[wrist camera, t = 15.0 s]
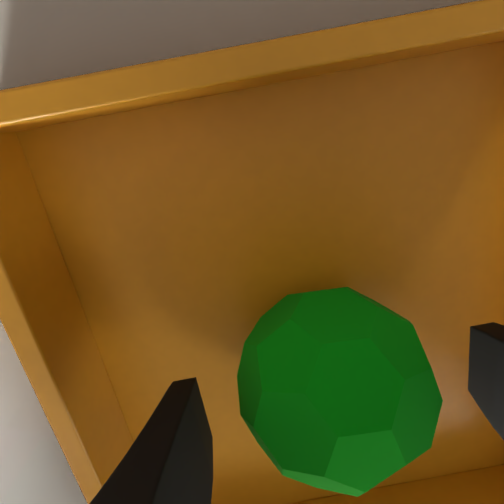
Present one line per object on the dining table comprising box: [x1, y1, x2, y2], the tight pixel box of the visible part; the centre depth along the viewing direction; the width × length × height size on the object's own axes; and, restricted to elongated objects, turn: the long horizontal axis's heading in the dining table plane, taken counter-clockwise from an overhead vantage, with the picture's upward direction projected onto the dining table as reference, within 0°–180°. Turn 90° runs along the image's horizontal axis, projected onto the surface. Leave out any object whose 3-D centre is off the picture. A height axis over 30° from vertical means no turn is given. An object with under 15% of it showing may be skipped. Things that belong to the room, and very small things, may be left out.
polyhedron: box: [237, 287, 443, 497], centre depth 10 cm, size 5×5×5 cm
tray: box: [0, 0, 504, 504], centre depth 11 cm, size 15×16×3 cm
